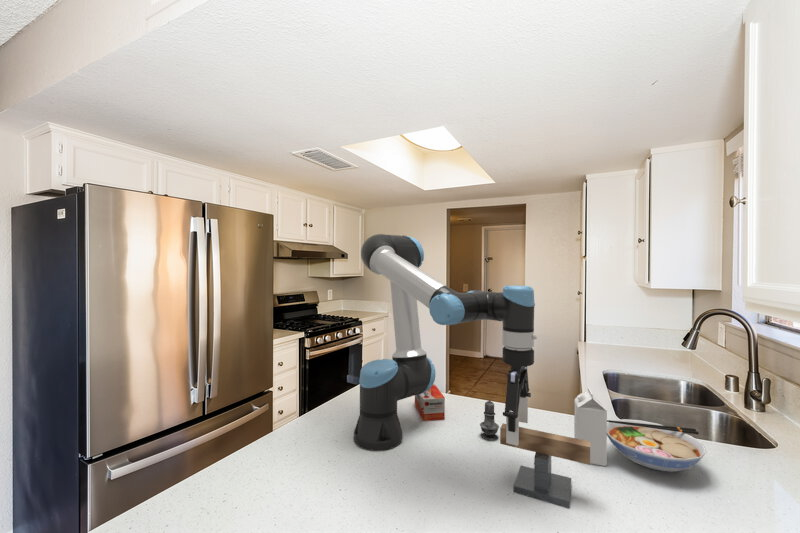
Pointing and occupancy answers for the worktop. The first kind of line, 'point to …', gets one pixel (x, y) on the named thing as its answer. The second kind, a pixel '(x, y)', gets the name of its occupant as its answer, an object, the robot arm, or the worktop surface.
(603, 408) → the milk carton
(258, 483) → the worktop surface
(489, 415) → the grey stone chess piece
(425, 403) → the medicine box
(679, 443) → the ramen bowl
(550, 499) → the ridge stand
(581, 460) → the walnut beam
